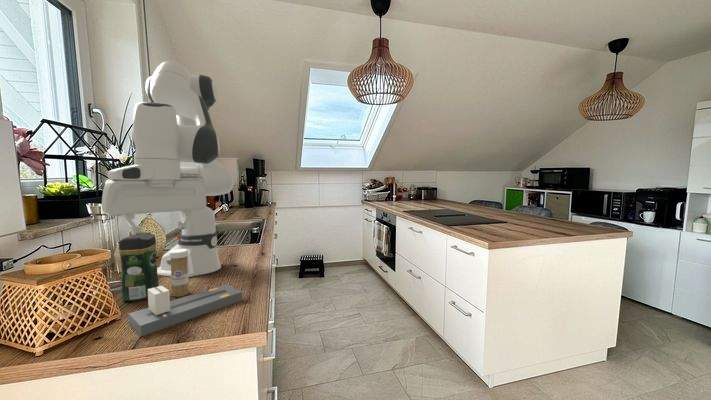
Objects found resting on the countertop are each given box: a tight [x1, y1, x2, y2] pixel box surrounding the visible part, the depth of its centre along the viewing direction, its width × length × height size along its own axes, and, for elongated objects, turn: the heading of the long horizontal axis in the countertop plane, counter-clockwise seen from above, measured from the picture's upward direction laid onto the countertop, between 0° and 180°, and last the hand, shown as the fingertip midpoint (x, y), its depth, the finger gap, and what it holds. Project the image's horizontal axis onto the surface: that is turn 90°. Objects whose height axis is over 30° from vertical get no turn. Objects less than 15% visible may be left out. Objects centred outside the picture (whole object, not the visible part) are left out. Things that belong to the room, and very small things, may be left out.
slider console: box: [128, 284, 243, 337], centre depth 75 cm, size 24×9×3 cm, turn 142°
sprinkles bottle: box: [170, 249, 190, 298], centre depth 85 cm, size 5×5×14 cm
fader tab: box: [147, 285, 171, 315], centre depth 69 cm, size 3×5×5 cm, turn 52°
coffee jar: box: [118, 232, 160, 302], centre depth 84 cm, size 10×8×19 cm
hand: (160, 231), depth 67 cm, fingers open, 8 cm apart
